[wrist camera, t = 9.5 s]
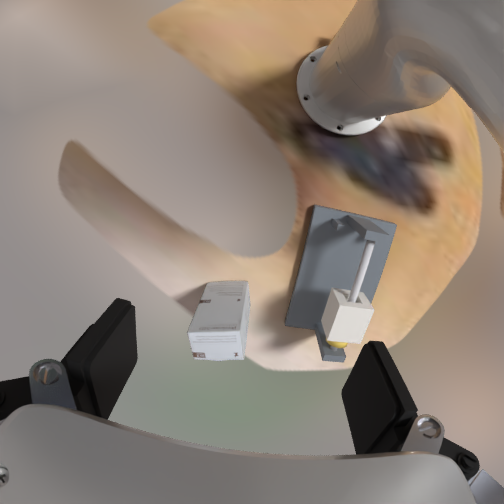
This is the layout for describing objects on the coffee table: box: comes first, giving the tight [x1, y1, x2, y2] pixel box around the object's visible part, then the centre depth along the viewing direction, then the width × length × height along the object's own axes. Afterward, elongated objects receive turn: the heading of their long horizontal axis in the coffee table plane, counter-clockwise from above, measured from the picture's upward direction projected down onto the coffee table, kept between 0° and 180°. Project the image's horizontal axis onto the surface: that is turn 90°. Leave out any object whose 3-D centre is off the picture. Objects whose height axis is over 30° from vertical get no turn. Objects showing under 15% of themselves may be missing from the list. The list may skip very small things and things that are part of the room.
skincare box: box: [187, 281, 250, 361], centre depth 36 cm, size 6×4×12 cm
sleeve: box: [321, 288, 374, 344], centre depth 34 cm, size 5×4×4 cm
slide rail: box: [285, 205, 397, 362], centre depth 36 cm, size 18×12×8 cm, turn 170°
